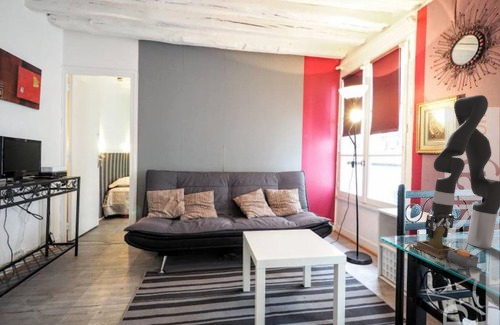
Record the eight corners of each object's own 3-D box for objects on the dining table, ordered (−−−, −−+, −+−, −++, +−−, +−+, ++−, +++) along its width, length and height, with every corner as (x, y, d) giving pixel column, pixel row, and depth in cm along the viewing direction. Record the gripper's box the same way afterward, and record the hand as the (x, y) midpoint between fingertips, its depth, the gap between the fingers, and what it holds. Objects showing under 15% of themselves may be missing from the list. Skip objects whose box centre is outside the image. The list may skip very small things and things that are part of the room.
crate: (431, 245, 125) (432, 239, 125) (458, 256, 114) (459, 249, 113) (412, 246, 121) (413, 240, 121) (439, 258, 110) (440, 251, 109)
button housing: (458, 258, 112) (459, 249, 111) (476, 266, 105) (478, 257, 105) (446, 259, 109) (448, 250, 109) (465, 268, 103) (467, 258, 102)
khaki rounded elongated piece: (445, 253, 114) (449, 228, 113) (430, 250, 115) (434, 226, 114) (438, 247, 120) (442, 224, 119) (423, 245, 121) (427, 222, 120)
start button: (460, 256, 109) (461, 248, 109) (470, 261, 106) (472, 253, 105) (453, 257, 108) (455, 249, 108) (464, 262, 104) (465, 253, 104)
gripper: (445, 199, 121) (439, 233, 123) (423, 199, 116) (417, 235, 118) (462, 204, 114) (457, 240, 116) (440, 204, 109) (434, 241, 111)
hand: (437, 237), depth 117 cm, fingers open, 8 cm apart
